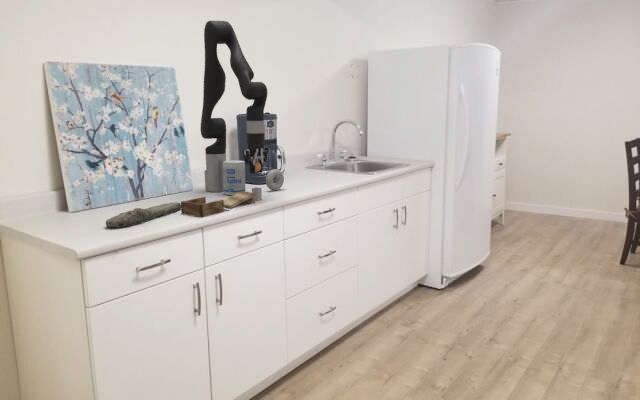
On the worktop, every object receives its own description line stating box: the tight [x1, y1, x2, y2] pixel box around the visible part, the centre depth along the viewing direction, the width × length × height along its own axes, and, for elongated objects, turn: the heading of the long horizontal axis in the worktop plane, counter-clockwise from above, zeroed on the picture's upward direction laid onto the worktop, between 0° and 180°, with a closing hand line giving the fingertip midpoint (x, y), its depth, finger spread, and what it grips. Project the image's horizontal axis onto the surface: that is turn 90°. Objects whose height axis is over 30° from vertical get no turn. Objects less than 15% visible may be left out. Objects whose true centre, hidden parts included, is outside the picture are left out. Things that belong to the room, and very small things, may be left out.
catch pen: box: [180, 196, 225, 218], centre depth 192 cm, size 11×11×4 cm
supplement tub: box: [223, 159, 246, 197], centre depth 227 cm, size 10×10×15 cm
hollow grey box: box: [251, 186, 263, 202], centre depth 215 cm, size 3×3×5 cm
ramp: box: [223, 191, 256, 209], centre depth 206 cm, size 14×7×4 cm, turn 144°
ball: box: [255, 161, 261, 173], centre depth 213 cm, size 4×4×4 cm
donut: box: [265, 168, 285, 191], centre depth 236 cm, size 10×4×10 cm, turn 136°
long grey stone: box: [105, 202, 181, 228], centre depth 184 cm, size 35×5×10 cm
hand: (256, 172), depth 214 cm, fingers closed on ball, 4 cm apart
